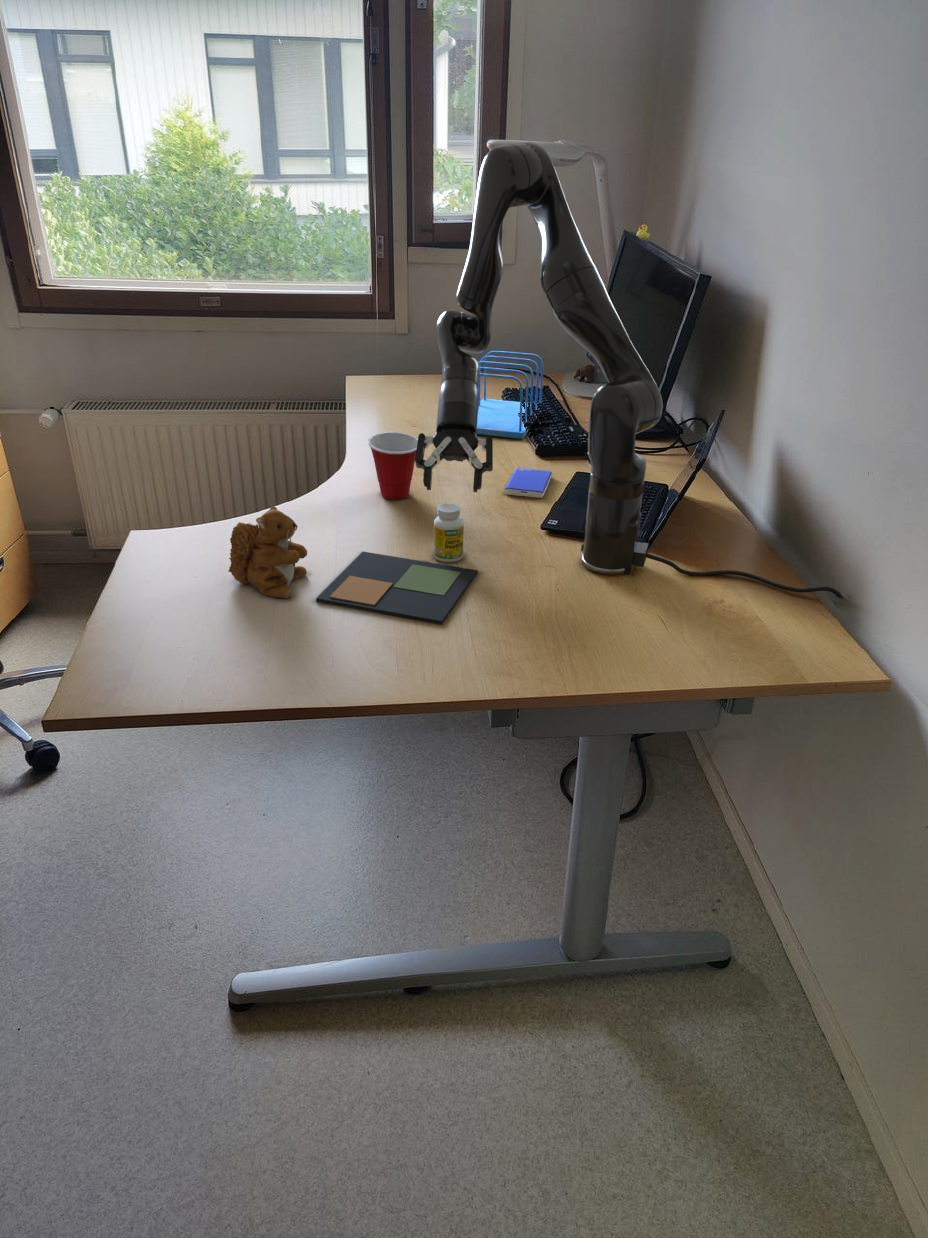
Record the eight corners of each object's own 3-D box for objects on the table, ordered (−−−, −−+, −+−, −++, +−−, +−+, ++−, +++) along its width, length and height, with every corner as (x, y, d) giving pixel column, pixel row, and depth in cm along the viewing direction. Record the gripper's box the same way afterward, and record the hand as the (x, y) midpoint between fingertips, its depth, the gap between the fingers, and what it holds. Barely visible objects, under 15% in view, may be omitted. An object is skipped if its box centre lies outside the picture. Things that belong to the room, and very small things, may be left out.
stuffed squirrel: (291, 601, 146) (284, 527, 140) (215, 588, 150) (205, 516, 143) (317, 575, 155) (312, 504, 148) (244, 563, 158) (236, 494, 151)
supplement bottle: (452, 547, 165) (453, 499, 160) (468, 558, 161) (470, 509, 156) (428, 554, 163) (428, 505, 158) (443, 565, 159) (444, 515, 154)
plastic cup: (390, 509, 180) (389, 452, 174) (359, 493, 187) (357, 438, 181) (431, 496, 187) (432, 441, 181) (400, 481, 194) (399, 428, 188)
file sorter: (482, 405, 244) (484, 348, 236) (544, 411, 240) (547, 354, 232) (455, 432, 223) (456, 371, 216) (522, 440, 219) (526, 377, 211)
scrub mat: (477, 573, 156) (477, 569, 156) (441, 624, 141) (442, 620, 140) (362, 554, 162) (362, 550, 162) (316, 601, 146) (315, 597, 146)
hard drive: (515, 467, 198) (504, 487, 188) (552, 470, 196) (543, 491, 186) (515, 474, 199) (504, 494, 188) (551, 477, 197) (542, 498, 187)
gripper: (418, 397, 163) (411, 479, 159) (496, 400, 162) (490, 483, 158) (421, 417, 170) (415, 495, 166) (496, 420, 169) (491, 499, 165)
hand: (452, 489), depth 162 cm, fingers open, 8 cm apart
